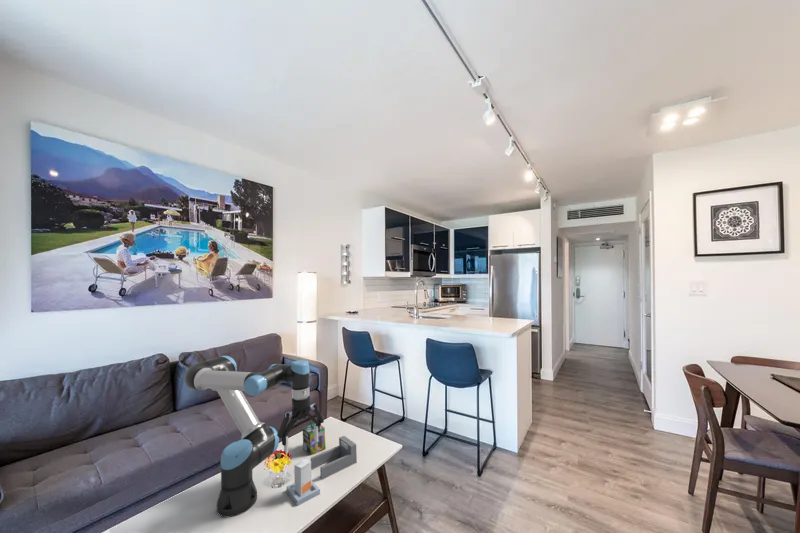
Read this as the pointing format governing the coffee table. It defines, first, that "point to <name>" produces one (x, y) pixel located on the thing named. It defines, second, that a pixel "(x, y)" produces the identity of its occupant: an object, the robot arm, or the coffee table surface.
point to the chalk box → (308, 439)
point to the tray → (306, 496)
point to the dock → (344, 450)
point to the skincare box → (302, 476)
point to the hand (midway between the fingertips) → (301, 446)
